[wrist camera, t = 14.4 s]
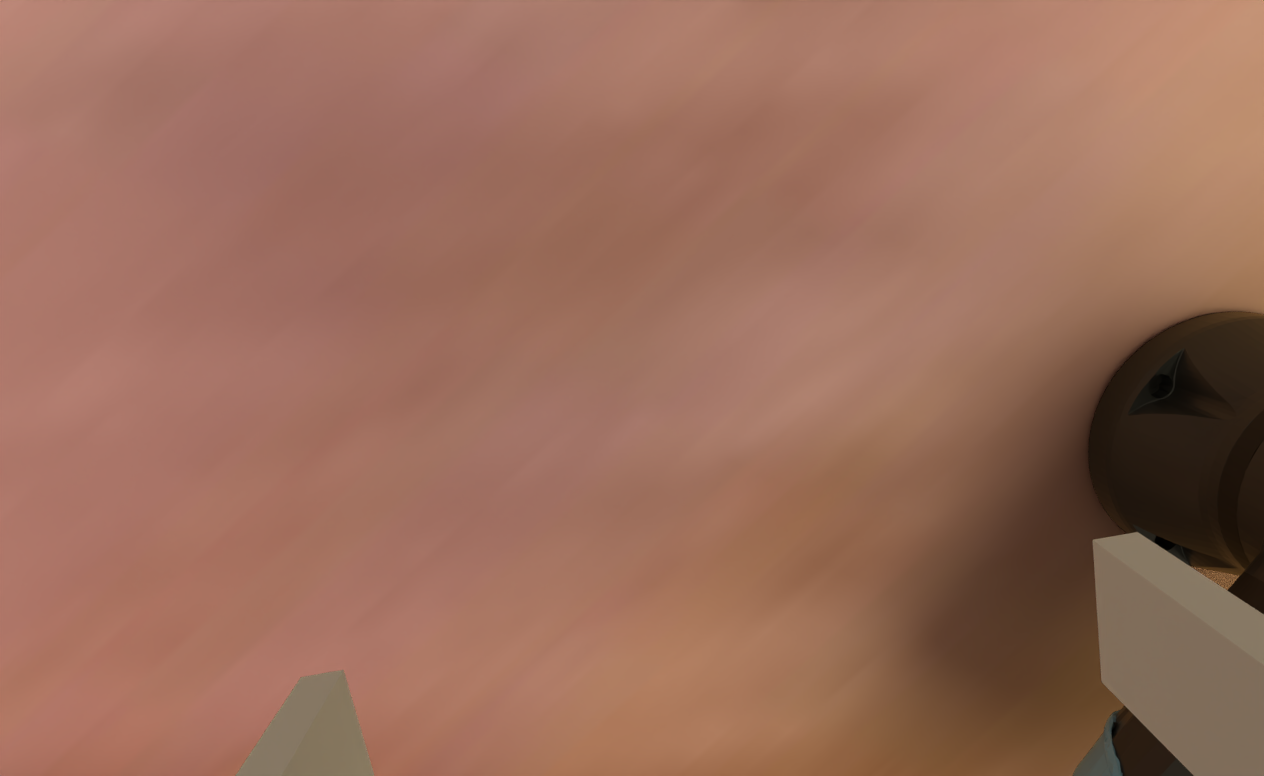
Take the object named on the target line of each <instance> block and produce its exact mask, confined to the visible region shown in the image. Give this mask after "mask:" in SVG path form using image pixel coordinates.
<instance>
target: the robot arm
mask: <svg viewBox="0 0 1264 776" xmlns="http://www.w3.org/2000/svg"><path fill="white" fill-rule="evenodd" d="M1088 453H1089V468H1090V474H1091V479H1092V482H1093V486H1094V489H1095V491H1096V494H1097V496H1098V498H1099V500H1100V502H1101V504H1102V506H1103V507H1104V509H1105V510H1106V512H1107V513H1108V515H1109V516H1110V517H1111V518H1112V520H1113V521H1114V522H1115V523H1116V524H1117V525H1118V526H1119V527H1120V528H1121V529H1122V530H1124V531H1125V532H1126V533H1127V534H1123V535H1117V536H1112V537H1106V538H1100V539H1094V540H1093V556H1094V571H1095V587H1096V603H1097V619H1098V635H1099V651H1100V666H1101V682H1102V683H1103V684H1104V685H1105V686H1106V687H1107V688H1108V689H1109V690H1110V691H1111V692H1112V693H1113V694H1114V695H1115V696H1116V697H1117V698H1118V699H1119V700H1120V701H1121V702H1122V703H1123V704H1124V705H1125V706H1124V707H1123V708H1122V709H1121V710H1119V711H1115V712H1113V713H1112V714H1111V715H1110V717H1109V718H1108V720H1107V722H1106V724H1105V727H1104V733H1103V734H1102V735H1101V737H1100V738H1099V739H1098V740H1097V742H1096V743H1095V744H1094V746H1093V747H1092V748H1091V749H1090V751H1089V752H1088V753H1087V755H1086V756H1085V757H1084V758H1083V760H1082V761H1081V762H1080V764H1079V765H1078V766H1077V768H1076V769H1075V771H1074V773H1073V776H1264V315H1263V314H1257V313H1251V312H1220V313H1213V314H1208V315H1204V316H1200V317H1197V318H1193V319H1190V320H1188V321H1185V322H1182V323H1180V324H1178V325H1176V326H1173V327H1171V328H1170V329H1168V330H1166V331H1164V332H1162V333H1161V334H1159V335H1157V336H1156V337H1154V338H1153V339H1152V340H1150V341H1149V342H1147V343H1146V344H1145V345H1144V346H1142V347H1141V348H1140V349H1139V350H1138V351H1137V352H1135V353H1134V354H1133V355H1132V356H1131V357H1130V358H1129V359H1128V360H1127V361H1126V363H1125V364H1124V365H1123V366H1122V367H1121V368H1120V370H1119V371H1118V372H1117V373H1116V375H1115V376H1114V378H1113V379H1112V381H1111V382H1110V384H1109V385H1108V387H1107V389H1106V390H1105V392H1104V394H1103V396H1102V398H1101V400H1100V403H1099V405H1098V407H1097V410H1096V413H1095V416H1094V419H1093V422H1092V427H1091V431H1090V438H1089V450H1088ZM1190 566H1192V567H1197V568H1202V569H1208V570H1213V571H1218V572H1223V573H1229V574H1234V575H1239V576H1240V577H1239V578H1238V579H1237V580H1236V581H1235V582H1234V584H1233V585H1232V586H1231V587H1230V588H1229V589H1228V591H1227V590H1225V589H1224V588H1222V587H1221V586H1219V585H1218V584H1216V583H1215V582H1213V581H1212V580H1210V579H1209V578H1207V577H1206V576H1204V575H1203V574H1201V573H1199V572H1198V571H1196V570H1195V569H1193V568H1192V567H1190ZM236 776H374V772H373V769H372V765H371V762H370V759H369V755H368V752H367V748H366V745H365V742H364V738H363V735H362V731H361V728H360V724H359V721H358V718H357V714H356V711H355V707H354V704H353V700H352V697H351V694H350V690H349V687H348V683H347V680H346V677H345V673H344V670H340V671H334V672H328V673H322V674H317V675H311V676H305V677H301V678H300V680H299V681H298V683H297V684H296V686H295V687H294V689H293V690H292V692H291V693H290V695H289V696H288V698H287V699H286V701H285V702H284V704H283V705H282V707H281V708H280V710H279V711H278V713H277V714H276V716H275V717H274V719H273V720H272V722H271V723H270V725H269V726H268V728H267V729H266V731H265V732H264V734H263V735H262V737H261V738H260V740H259V741H258V743H257V744H256V746H255V747H254V749H253V750H252V752H251V753H250V755H249V756H248V758H247V759H246V761H245V762H244V764H243V765H242V767H241V768H240V770H239V771H238V773H237V774H236Z"/></svg>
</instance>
